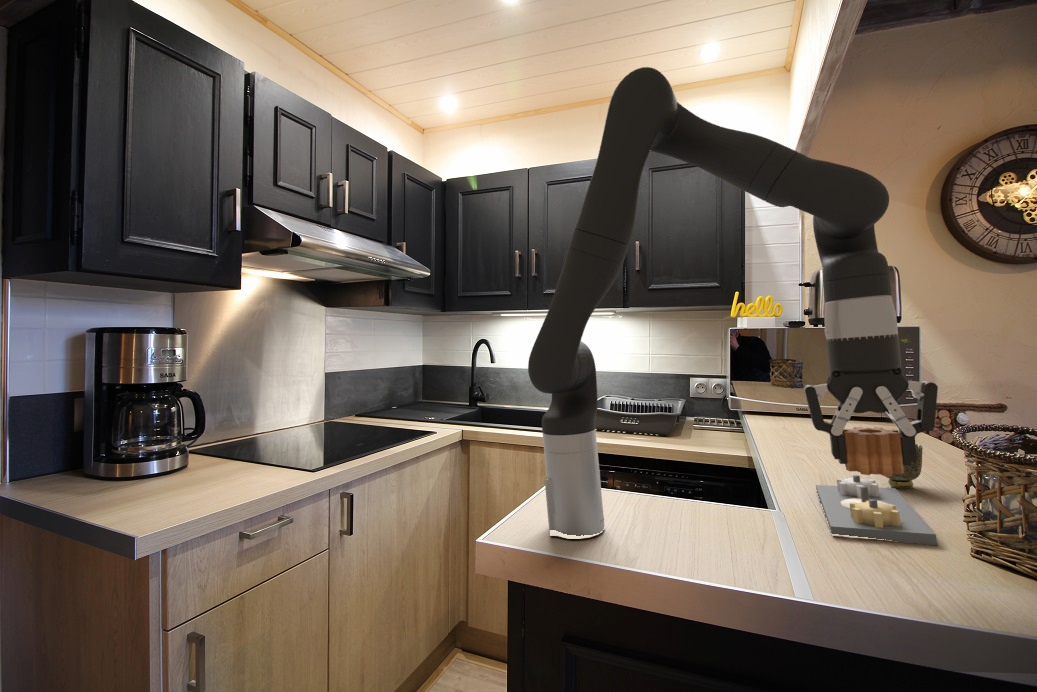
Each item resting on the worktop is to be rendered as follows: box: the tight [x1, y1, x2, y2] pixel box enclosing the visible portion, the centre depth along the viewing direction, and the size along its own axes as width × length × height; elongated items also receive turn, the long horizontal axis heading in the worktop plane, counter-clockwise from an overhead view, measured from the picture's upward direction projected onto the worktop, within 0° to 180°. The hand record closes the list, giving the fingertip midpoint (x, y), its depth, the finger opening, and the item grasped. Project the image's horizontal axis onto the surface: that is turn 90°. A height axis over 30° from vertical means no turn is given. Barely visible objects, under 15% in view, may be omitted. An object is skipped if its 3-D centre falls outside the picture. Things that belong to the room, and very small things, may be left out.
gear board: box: [815, 474, 938, 546], centre depth 75 cm, size 22×12×4 cm, turn 152°
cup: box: [884, 443, 923, 490], centre depth 87 cm, size 8×7×8 cm
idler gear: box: [842, 426, 904, 477], centre depth 59 cm, size 6×6×5 cm
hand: (873, 463), depth 59 cm, fingers closed on idler gear, 6 cm apart
